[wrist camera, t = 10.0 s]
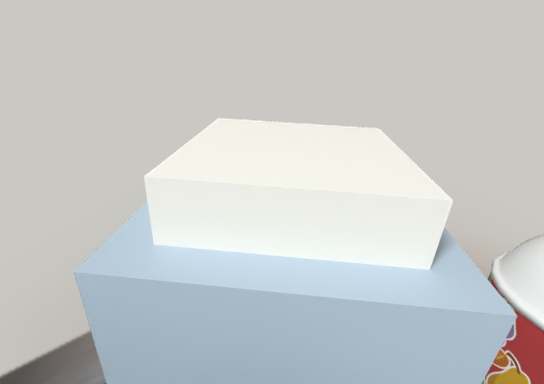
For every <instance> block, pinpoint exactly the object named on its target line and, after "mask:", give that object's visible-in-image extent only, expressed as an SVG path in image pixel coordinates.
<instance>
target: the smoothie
mask: <svg viewBox="0 0 544 384" xmlns="http://www.w3.org/2000/svg"><path fill="white" fill-rule="evenodd" d="M488 281H489V282H490V283H491V284H492V286H493V287H494V288H495V289H496V290H497V292H498V293H499V294H500V295H501V297H502V298H503V299H504V300H505V301H506V303H507V304H508V305H509V306H510V307H511V309H512V310H513V311H514V312H515V314H516V315H517V318H516V320H515V322H514V324H513V326H512V328H511V329H510V331H509V333H508V335H507V337H506V339H505V341H504V342H503V344H502V346H501V348H500V350H499V352H498V354H497V356H496V357H495V359H494V361H493V363H492V365H491V367H490V369H489V371H488V372H487V374H486V376H485V378H484V380H483V382H482V384H544V235H540V236H537V237H534V238H532V239H529V240H527V241H525V242H524V243H522V244H520V245H519V246H517V247H516V248H515V249H513V250H512V251H508V252H503V253H502V254H500V255H499V256H498V257H497V258H495V259H494V260H493V263H492V270H491V272H490V275H489V277H488Z"/></svg>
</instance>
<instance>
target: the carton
mask: <svg viewBox="0 0 544 384" xmlns="http://www.w3.org/2000/svg"><path fill="white" fill-rule="evenodd" d="M144 180H145V187H146V194H147V202H146V203H145V204H144V205H143V206H142V207H141V208H140V209H139V210H138V211H137V212H136V213H135V214H134V215H133V216H131V217H130V218H129V219H128V221H126V222H125V223H124V224H123V225H122V226H121V227H120V228H119V229H118V230H117V231H116V232H115V233H114V234H113V235H112V236H111V237H110V238H109V239H108V240H107V241H105V243H103V244H102V246H100V247H99V248H98V249H97V250H96V251H95V252H94V253H93V254H92V255H91V256H90V257H89V258H88V259H87V260H86V261H85V262H84V263H83V264H82V265H81V266H79V267H78V268H77V269H76V270H75V271H74V275H75V278H76V282H77V285H78V288H79V292H80V295H81V298H82V302H83V305H84V309H85V312H86V315H87V319H88V322H89V326H90V329H91V333H92V336H93V339H94V343H95V346H96V350H97V353H98V356H99V360H100V363H101V367H102V370H103V373H104V377H105V380H106V384H482V382H483V380H484V378H485V376H486V374H487V372H488V371H489V369H490V367H491V365H492V363H493V361H494V359H495V357H496V356H497V354H498V352H499V350H500V348H501V346H502V344H503V342H504V341H505V339H506V337H507V335H508V333H509V331H510V329H511V328H512V326H513V324H514V322H515V320H516V318H517V315H516V314H515V312H514V311H513V310H512V309H511V307H510V306H509V305H508V304H507V303H506V301H505V300H504V299H503V298H502V297H501V295H500V294H499V293H498V292H497V290H496V289H495V288H494V287H493V286H492V284H491V283H490V282H489V281H488V279H487V278H486V277H485V276H484V275H483V273H482V272H481V271H480V270H479V269H478V267H477V266H476V265H475V264H474V263H473V261H472V260H471V259H470V258H469V256H468V255H467V254H466V253H465V252H464V250H463V249H462V248H461V247H460V246H459V244H458V243H457V242H456V241H455V239H454V238H453V237H452V236H451V234H450V233H449V232H448V231H447V230H446V228H445V223H446V221H447V218H448V215H449V212H450V209H451V206H452V203H453V200H452V199H451V198H450V197H449V196H448V195H447V194H446V193H445V192H444V191H442V189H441V188H440V187H439V186H438V185H437V184H436V183H434V181H432V179H430V178H429V177H428V176H427V175H426V174H425V173H424V172H423V171H422V170H421V169H420V168H419V167H418V166H417V165H416V164H415V163H414V162H413V161H412V160H411V159H410V158H409V157H408V156H407V155H406V154H405V153H404V152H403V151H402V150H401V149H399V148H398V146H397V145H395V144H394V143H393V142H392V141H391V140H390V139H389V138H388V137H387V136H386V135H385V134H384V133H383V132H382V131H381V130H380V129H379V128H365V127H350V126H333V125H318V124H303V123H288V122H272V121H257V120H241V119H225V118H218V119H217V120H215V121H214V122H213V123H212V124H210V125H209V126H208V127H207V128H205V129H204V130H203V131H201V132H200V133H199V134H198V135H197V136H195V137H194V138H193V139H191V140H190V141H189V142H187V143H186V144H185V145H184V146H182V147H181V148H180V149H179V150H177V151H176V152H175V153H173V154H172V155H171V156H170V157H168V158H167V159H166V160H164V161H163V162H162V163H161V164H159V165H158V166H157V167H156V168H154V169H153V170H152V171H150V172H149V173H148V174H147V175H145V176H144Z"/></svg>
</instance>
